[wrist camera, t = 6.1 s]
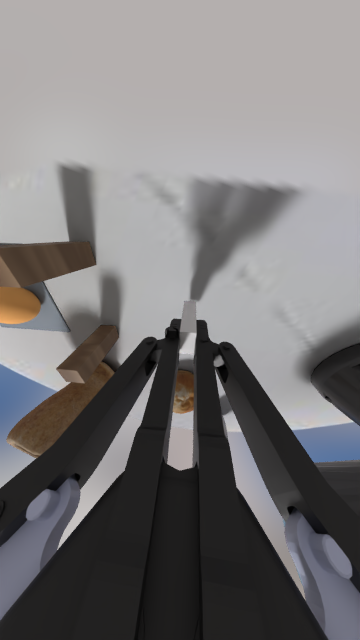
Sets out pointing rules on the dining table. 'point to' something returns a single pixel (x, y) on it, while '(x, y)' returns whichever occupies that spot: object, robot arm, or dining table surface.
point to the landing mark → (43, 312)
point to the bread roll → (184, 392)
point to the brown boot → (56, 414)
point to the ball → (17, 305)
